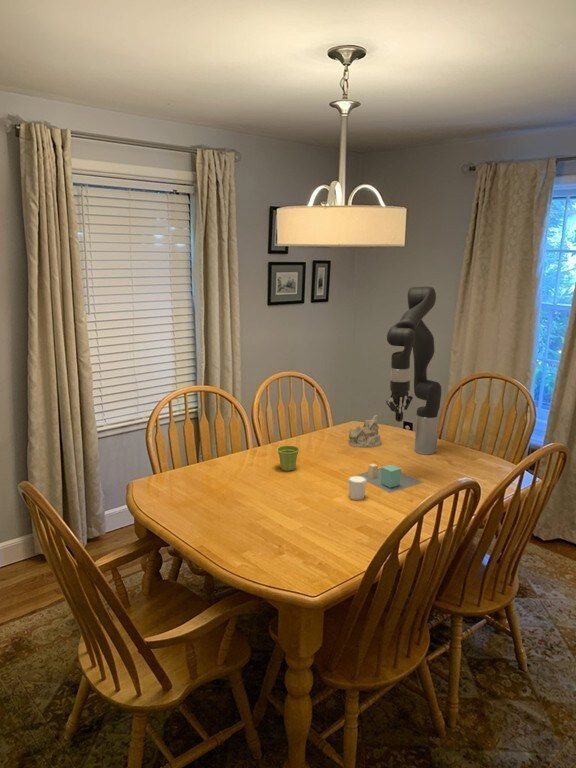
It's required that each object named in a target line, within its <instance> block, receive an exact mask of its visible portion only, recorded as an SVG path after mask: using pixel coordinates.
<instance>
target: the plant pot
mask: <svg viewBox="0 0 576 768" xmlns="http://www.w3.org/2000/svg"><path fill="white" fill-rule="evenodd" d="M276 451H277V454H278V456H279V457H278V458H279V463H280V464H279V465H280V469H281V470H282V471H285V472H290V471H294V470H296V466H297V458H298V453H299V452H300V448H299V447H297V446H295V445H286V444H285V445H281V446H278V447H277V449H276Z"/></svg>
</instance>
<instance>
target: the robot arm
mask: <svg viewBox="0 0 576 768" xmlns="http://www.w3.org/2000/svg"><path fill="white" fill-rule="evenodd" d="M436 299H437V294H436V290H435V288H434V287H432V286H412V287H410V288H409V289H408V292H407V306H408V310H406V311H405V312H404V313H403V315H402V316H401V318H400V320H399V321H397V322H396V323H394V325H392V326H391V327H390V328H389V330H388V331H387V333H386V334H387V335H386V341H387V343H388V345H390V346H392V347H404V349H403V350H401V351H396V352H393V353H392V354H391V361H390V363H391V365H390V380H389V381H390V382H389V390H390V391H391V395H390V399H388V400H385V401H386V402H385V403H386V405H387V406H388V407H389V409H390V411H392V412H395V415H394V416H395V421H396V422H399V423H400V422H402V421H403V419H404V411H406V410H408V408H409V406H410V405H411V402H412V400H413V398H414V397H413V396H411V395H410V393H409V392H410V391H411V370H410V369H411V368H410V366H411V355H413V371H414V372H413V392H414V396H415V397H416V398H417V399H420V400H422V401H425V406H420V407H418V408H416V417H415V418H416V419H415V432H414V433H415V434H414V435H415V436H414V448H413V449H414V452H415V453H417V454H419V455H433V454H436V452H437V449H438V448H437V447H438V436H439V435H438V433H439V432H438V430H437V429H438V428H437V427H438V426H437V425H438V414H439V411H440V408H441V400H442V399H441V398H442V386H441V383H440V382H438V381H435V380H430V379H428V377H427V373H428V371H427V369H428V366H429V364H430V362H431V361H432V359H433V358H434V354H435V337H434V335H433V333H432V332H431V330H430V328H429V327H428V326H427V325H426V324H425V322H424V321H423V318H425V316H426V315H427V314H428V313H429V312H430V311H432V308H434V306H435V304H436V301H437V300H436Z"/></svg>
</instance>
